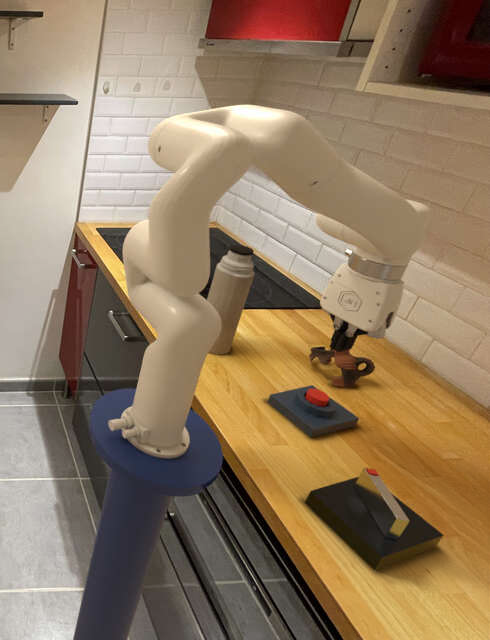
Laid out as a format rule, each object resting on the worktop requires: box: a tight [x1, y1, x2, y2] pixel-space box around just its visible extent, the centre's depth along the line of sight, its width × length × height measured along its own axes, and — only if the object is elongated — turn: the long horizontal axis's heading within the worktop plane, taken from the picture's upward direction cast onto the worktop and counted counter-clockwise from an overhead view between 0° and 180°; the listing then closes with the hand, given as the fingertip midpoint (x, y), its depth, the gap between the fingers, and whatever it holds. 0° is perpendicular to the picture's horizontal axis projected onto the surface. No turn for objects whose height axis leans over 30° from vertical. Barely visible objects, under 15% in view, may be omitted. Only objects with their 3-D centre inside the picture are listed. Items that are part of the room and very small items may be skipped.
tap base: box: [304, 476, 445, 571], centre depth 72 cm, size 13×11×3 cm
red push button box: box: [267, 384, 360, 438], centre depth 94 cm, size 12×10×4 cm
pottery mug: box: [308, 346, 376, 388], centre depth 105 cm, size 12×10×8 cm
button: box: [305, 388, 330, 407], centre depth 93 cm, size 4×4×2 cm
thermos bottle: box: [206, 244, 255, 355], centre depth 111 cm, size 8×8×28 cm
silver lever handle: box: [354, 467, 409, 540], centre depth 71 cm, size 9×2×5 cm, turn 165°
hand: (339, 348), depth 88 cm, fingers closed
